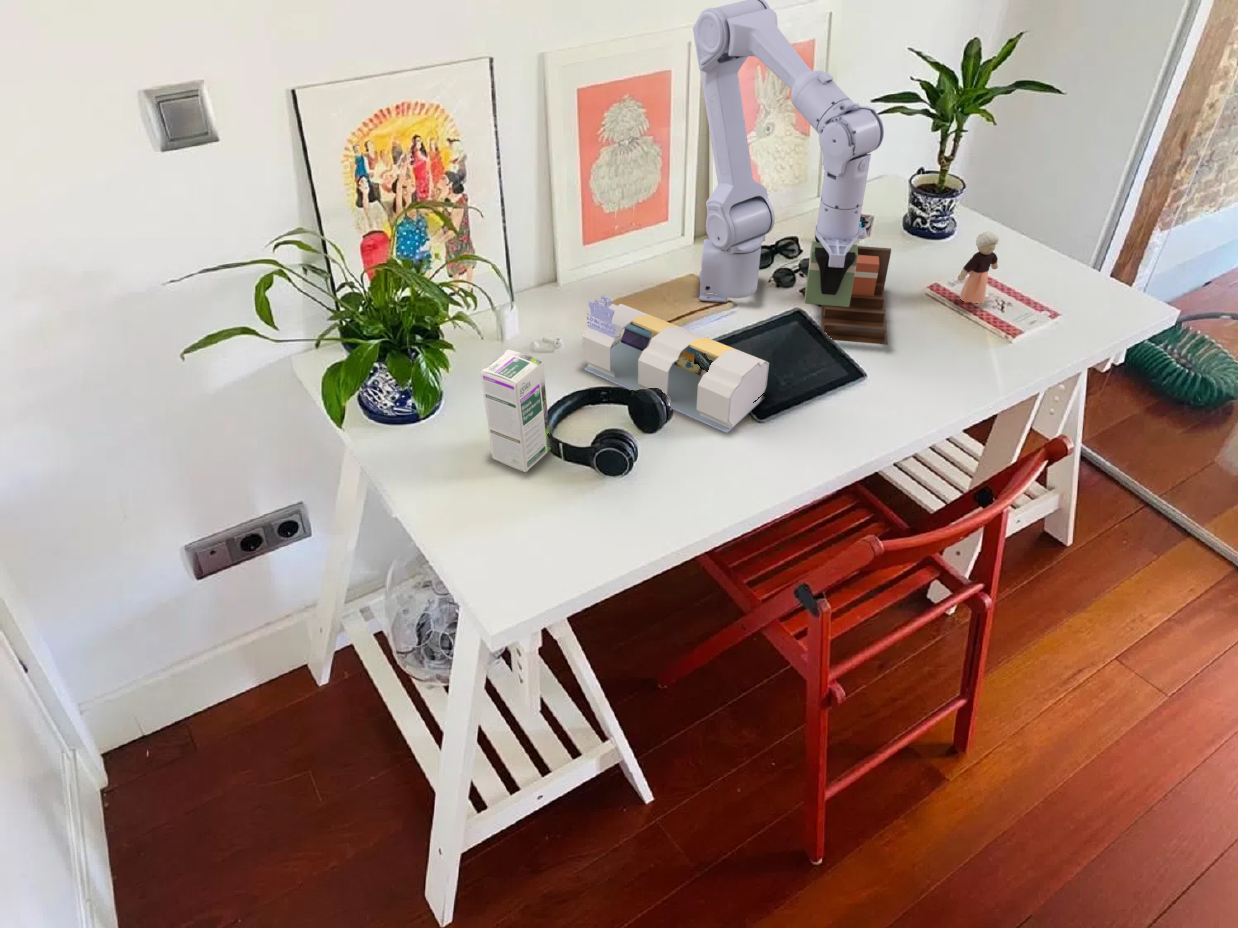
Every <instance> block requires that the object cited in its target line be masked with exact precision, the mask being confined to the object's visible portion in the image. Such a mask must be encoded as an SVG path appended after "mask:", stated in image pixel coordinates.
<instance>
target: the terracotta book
mask: <svg viewBox="0 0 1238 928" xmlns="http://www.w3.org/2000/svg"><path fill="white" fill-rule="evenodd" d="M878 269H879V256H866V255H858V257H857V263H856V270H855V275H854V281H853V287H852V293H851V294H852V295H865V296H874V291H875V286H876V280H877V275H878Z"/></svg>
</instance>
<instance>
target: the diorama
mask: <svg viewBox="0 0 1238 928" xmlns="http://www.w3.org/2000/svg"><path fill="white" fill-rule="evenodd" d="M587 303H588V308H589V311H590V313H589V312H587V313H586V315H587V316H586V328H585V330H584V332H583V334H582V360H583V361H584V362H585V363H586V364H587V366H585V367H584V371H585V372H589V373H591V374H592V375H595V376H597V377H600V378H602V379H604V380H607V381H608V382H611V383H613V384H616V385H617V386H619V387H622V388H624V389H627V390H629V391H631V390H638V389H641V388H659V389H661V390H662V392H663V393H665V394H666V395H667V397H669V402H670V407H671V408H670V409H671V410H674V411H675V412H678V413H681V414H683V415H684V416H687V417H689V418H691V419H694V420H696V421H699V422H701V423H702V424H705V425H708V426H710V427H712V428H714V429H717V430H719V431H721V432H723V433H725V434H729V432H730V431H731V430H732V429H733V428H734V427H735V426H736V425H737V424H738V423H739V422H741V421H742V420H743V419H744V418H745V417H746V416H747V415H749V413H751V412H752V410H754V409H755V408H756V407H757V406H758V405H759V404H760V403H761V402H762V401H763V400H764V399H765V398H766V396H764V394H765V392H766V389H767V386H768V377H769V368H770V362H768V361H767V360H764V359H762V358H759V357H757V356H755V355H752V354H749V353H747V352H744V351H742V350H739V349H736V348H734V347H732V346H729V345H726V344H724V343H722V342H719V341H716V340H714V339H711V338H709V337H706V336H703V335H701V334H698V333H696V332H694V331H691V330H689V329H686V328H684V327H681V326H679V325H676V324H673V323H671V322H668V321H666V320H663V319H661V318H659V317H656V316H653V315H651V314H649V313H646V312H643V311H640V310H638V309H636V308H633V307H631V306H628V305H626V304H623V303H619V304H618V305H617V304H615V303H612V299H611V298H610V297H609V296H606V297H605V296H604V295H601V296H600V299H599V298H595V299H594V301H592V300H589V301H588V302H587ZM600 303H602V304H600ZM603 304H604V305H603ZM619 338H620V341H619V342H618V343H616V344H615V345H614V346H613V344H614V343H615V340H617V339H619ZM612 346H613V347H612ZM696 352H697V353H698V354H700V355H703V356H705V357H706V356H707V358H708V359H709V360H712V361H713V362H712V363H711V365H710V367H709V370H708V372H706V371H705V370H703V369H701V368H700V366H699V365H698V364H694V356H695V353H696ZM763 393H764V394H763ZM762 394H763V395H762ZM761 395H762V396H761ZM760 396H761V397H760ZM758 397H760V398H759V399H758ZM757 399H758V400H757ZM755 400H757V401H756V402H754V401H755ZM753 402H754V403H753Z"/></svg>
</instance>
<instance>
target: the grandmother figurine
mask: <svg viewBox="0 0 1238 928" xmlns="http://www.w3.org/2000/svg"><path fill="white" fill-rule="evenodd" d="M975 241H976V242H975V245H976V247H977V250H978V251H977V252H976V253H974V254H973V256H972V257H971V258H970V259H969V260H968V261H967V262H966V264H965V265H964V266H963V267H962V270H961V271H960V274H958V276H957V279H958V281H961V282H963V281H964V280H965V278H966V276H967V278H966V280H965V282H964V283H963V286H962V289H961V293H960V296H959V300H960V299H961V300H962V301H964V302H963V304H964V303H965V304H974V305H976V304H975V303H979V304H978V305H980V306H981V307H982V306H983V305H984V303H985V299H986V294H987V285H988V277H989V271H990V268H991V269H992V270H997V269H998V268H999V264H998V256H997V254H996V252H994V251H995V249H996V245H998V244H999V241H1000V238H999V235H997V234H996V233H994V232H992V231H990V230H988V231H987V230H986V231H984V232H982V233H979V234H978V235H977V236H976V239H975ZM968 274H969V275H968ZM961 300H960V301H961ZM962 301H961V302H962ZM969 302H971V303H969ZM972 302H974V303H972ZM980 303H983V304H980Z"/></svg>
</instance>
